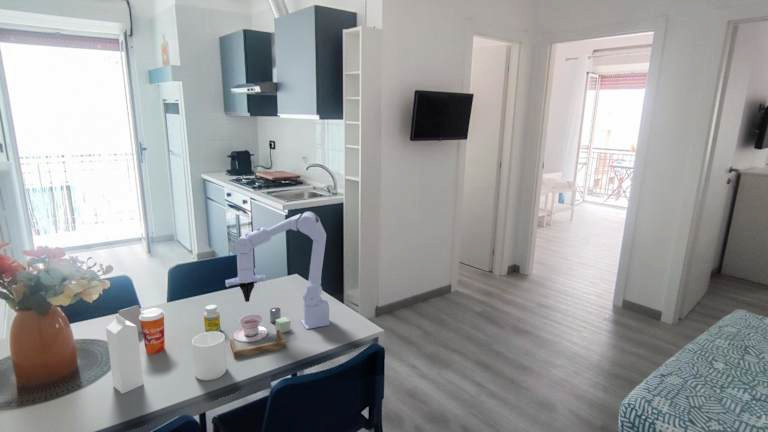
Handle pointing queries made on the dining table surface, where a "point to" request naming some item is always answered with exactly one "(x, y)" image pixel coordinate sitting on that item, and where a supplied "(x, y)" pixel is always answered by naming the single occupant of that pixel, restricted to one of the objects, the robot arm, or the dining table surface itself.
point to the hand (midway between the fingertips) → (246, 300)
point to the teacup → (250, 329)
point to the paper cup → (153, 330)
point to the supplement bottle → (212, 318)
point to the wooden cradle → (258, 347)
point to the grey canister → (274, 315)
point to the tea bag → (132, 316)
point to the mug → (209, 355)
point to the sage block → (282, 324)
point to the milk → (124, 355)
